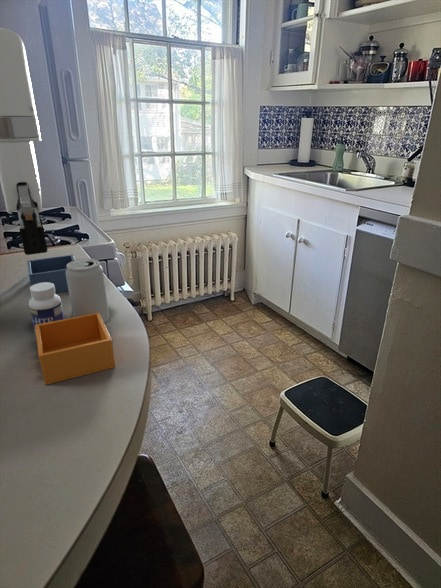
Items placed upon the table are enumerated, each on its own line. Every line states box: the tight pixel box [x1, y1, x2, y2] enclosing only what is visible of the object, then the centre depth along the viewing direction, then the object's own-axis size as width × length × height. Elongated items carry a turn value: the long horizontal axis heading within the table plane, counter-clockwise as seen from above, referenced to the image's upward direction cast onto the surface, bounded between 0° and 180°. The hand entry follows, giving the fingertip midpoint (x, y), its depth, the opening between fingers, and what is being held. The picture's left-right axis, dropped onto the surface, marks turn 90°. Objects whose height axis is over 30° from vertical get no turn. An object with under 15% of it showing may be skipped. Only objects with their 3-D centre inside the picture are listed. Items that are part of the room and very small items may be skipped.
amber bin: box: [35, 312, 116, 386], centre depth 62 cm, size 10×10×5 cm
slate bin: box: [26, 254, 76, 294], centre depth 90 cm, size 10×10×5 cm
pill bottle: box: [28, 282, 65, 335], centre depth 70 cm, size 5×5×9 cm
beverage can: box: [65, 258, 110, 324], centre depth 72 cm, size 6×6×12 cm
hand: (35, 244), depth 64 cm, fingers open, 9 cm apart
